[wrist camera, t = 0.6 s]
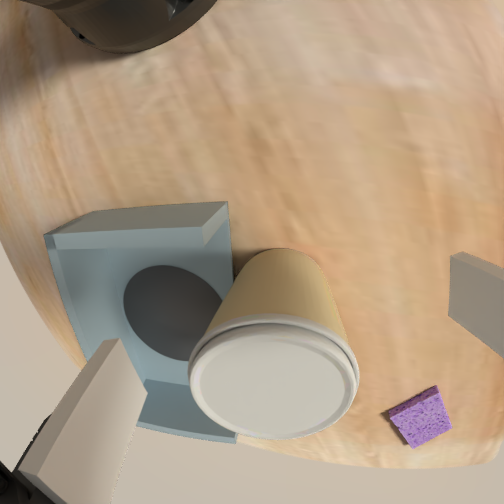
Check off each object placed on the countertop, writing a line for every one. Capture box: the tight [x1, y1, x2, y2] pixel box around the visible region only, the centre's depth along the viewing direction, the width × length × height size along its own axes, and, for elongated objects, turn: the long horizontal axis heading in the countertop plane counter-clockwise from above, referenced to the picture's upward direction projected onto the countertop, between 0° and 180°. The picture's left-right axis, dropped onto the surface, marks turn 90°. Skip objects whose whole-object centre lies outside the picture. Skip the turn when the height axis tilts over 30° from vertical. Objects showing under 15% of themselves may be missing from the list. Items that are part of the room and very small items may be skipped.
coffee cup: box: [187, 248, 359, 440], centre depth 19 cm, size 9×9×12 cm
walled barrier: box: [44, 201, 238, 444], centre depth 24 cm, size 21×13×7 cm, turn 3°
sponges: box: [389, 385, 452, 449], centre depth 29 cm, size 7×13×2 cm, turn 37°
